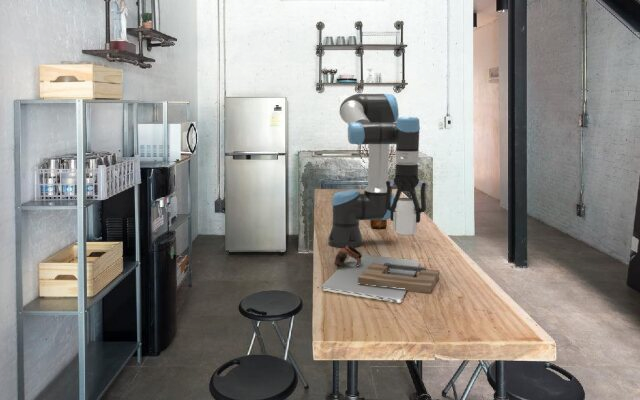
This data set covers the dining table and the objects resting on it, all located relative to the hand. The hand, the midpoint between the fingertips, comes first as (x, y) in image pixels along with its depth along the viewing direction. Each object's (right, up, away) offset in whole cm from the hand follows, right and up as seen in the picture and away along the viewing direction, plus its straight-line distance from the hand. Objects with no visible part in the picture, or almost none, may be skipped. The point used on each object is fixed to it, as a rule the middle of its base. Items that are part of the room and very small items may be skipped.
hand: (404, 230), depth 181 cm
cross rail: (+1, -16, +7) cm, 17 cm away
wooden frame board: (-2, -17, 0) cm, 17 cm away
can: (0, -1, 0) cm, 1 cm away
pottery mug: (-19, -14, +18) cm, 30 cm away
